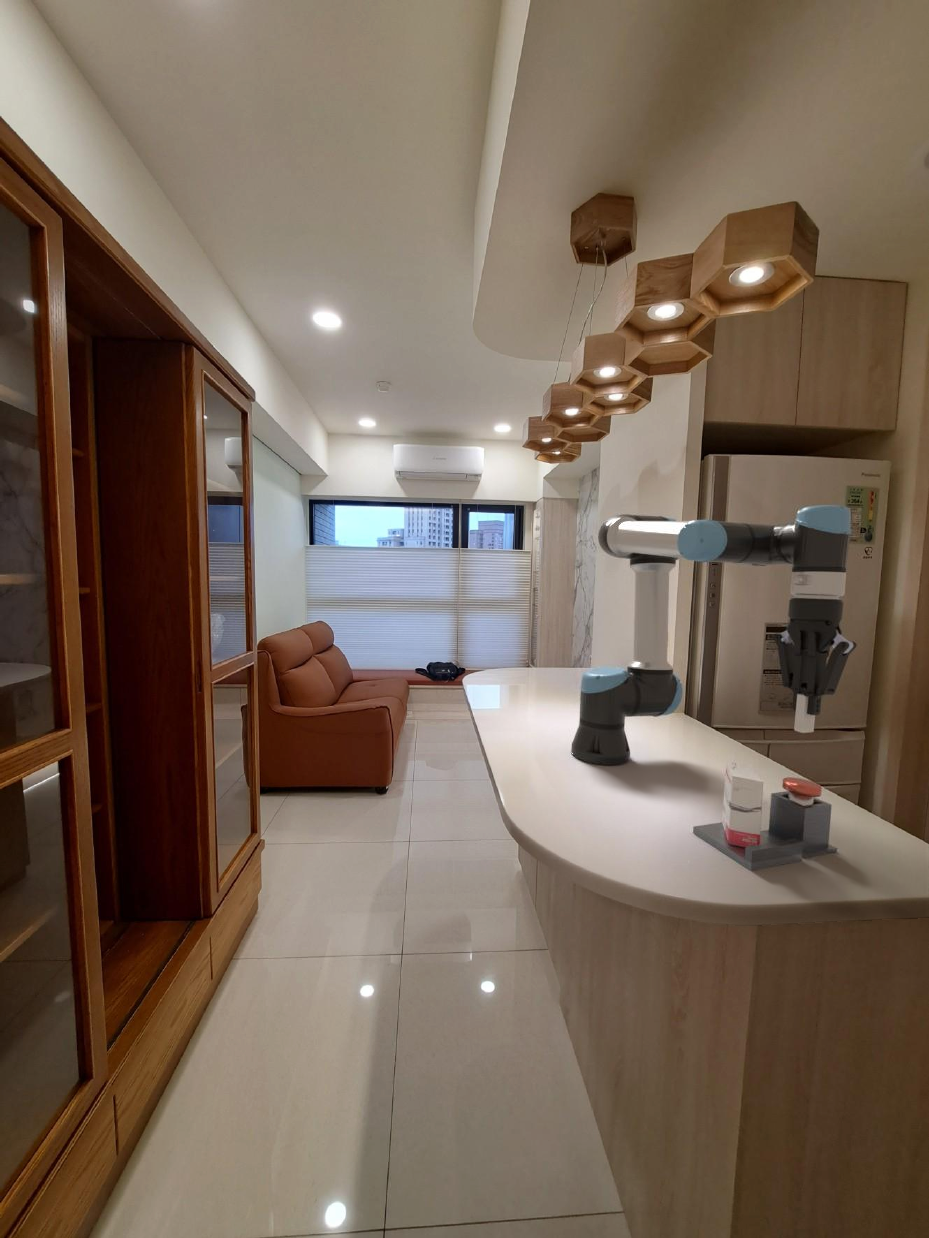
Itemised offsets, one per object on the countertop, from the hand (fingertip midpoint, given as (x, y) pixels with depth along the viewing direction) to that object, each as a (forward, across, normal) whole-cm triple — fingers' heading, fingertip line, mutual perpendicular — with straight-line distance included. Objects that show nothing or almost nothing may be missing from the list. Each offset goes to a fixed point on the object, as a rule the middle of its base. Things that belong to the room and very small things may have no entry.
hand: (803, 731), depth 83 cm
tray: (+20, -1, -11) cm, 23 cm away
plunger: (+19, +1, 0) cm, 19 cm away
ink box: (+19, -2, -10) cm, 22 cm away
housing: (+20, +1, 0) cm, 20 cm away
